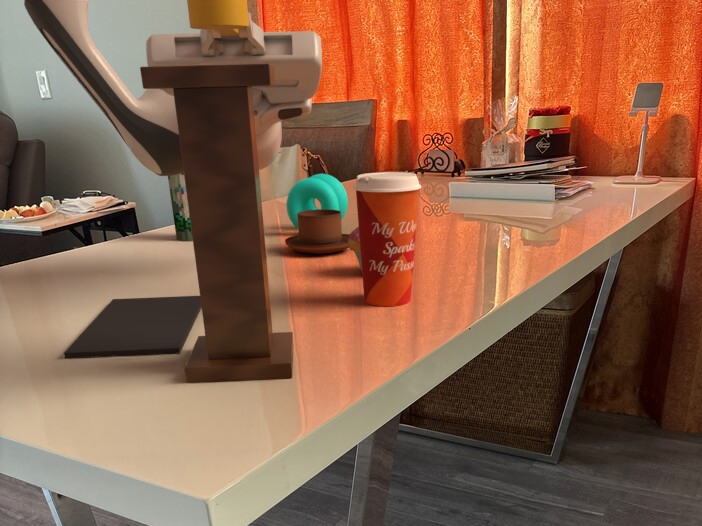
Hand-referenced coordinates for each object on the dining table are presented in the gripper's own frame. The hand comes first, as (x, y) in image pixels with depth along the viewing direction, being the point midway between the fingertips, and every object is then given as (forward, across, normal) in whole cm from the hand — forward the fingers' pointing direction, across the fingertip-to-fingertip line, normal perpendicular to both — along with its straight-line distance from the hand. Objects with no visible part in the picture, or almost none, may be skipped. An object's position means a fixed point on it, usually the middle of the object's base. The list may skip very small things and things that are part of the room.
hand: (228, 19), depth 77 cm
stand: (+4, 0, +38) cm, 38 cm away
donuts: (-61, +9, +1) cm, 62 cm away
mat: (-9, -13, +30) cm, 34 cm away
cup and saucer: (-45, +9, +10) cm, 47 cm away
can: (-60, -15, +2) cm, 61 cm away
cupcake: (-29, +17, +19) cm, 39 cm away
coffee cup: (-15, +17, +27) cm, 36 cm away
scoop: (+3, 0, +3) cm, 4 cm away
